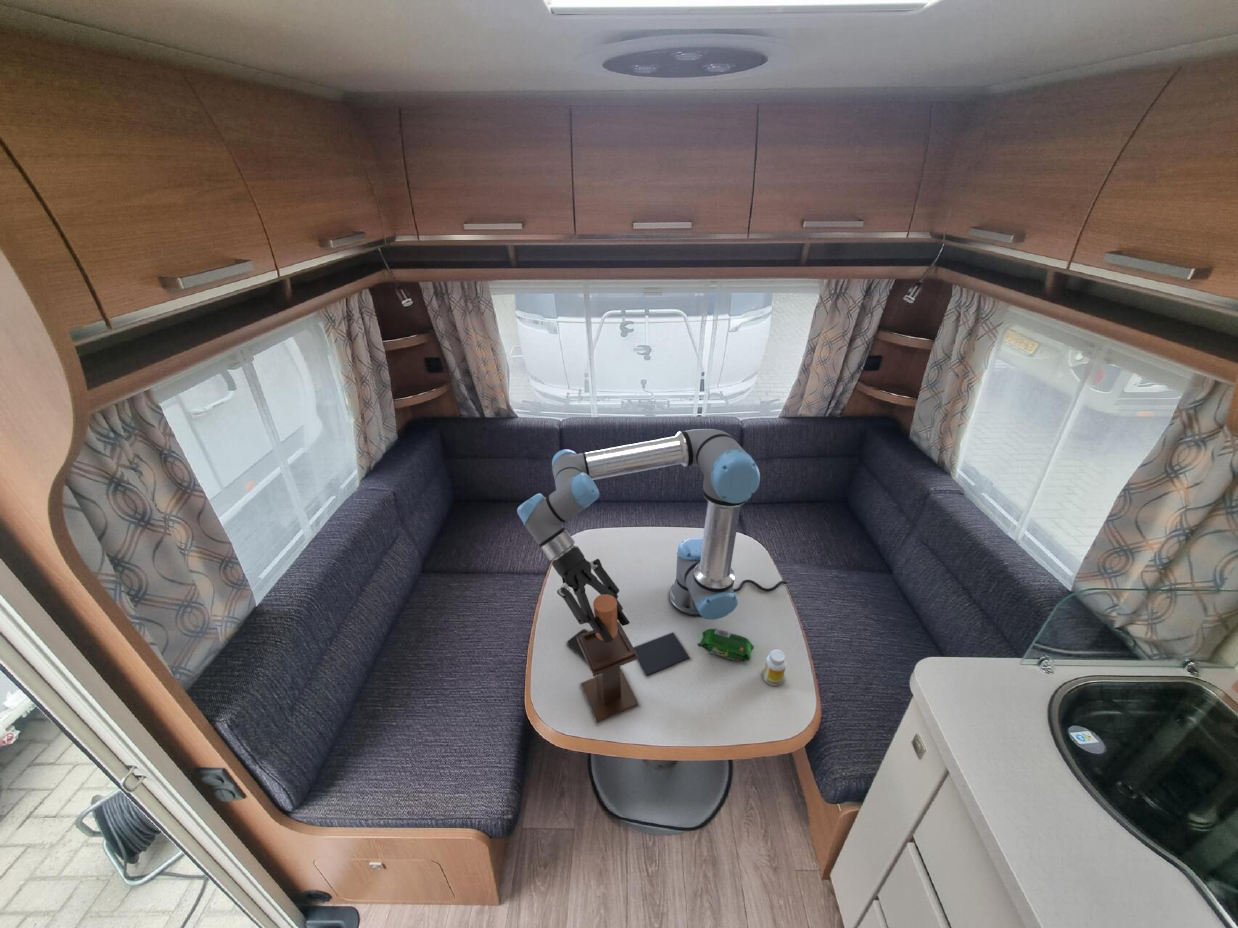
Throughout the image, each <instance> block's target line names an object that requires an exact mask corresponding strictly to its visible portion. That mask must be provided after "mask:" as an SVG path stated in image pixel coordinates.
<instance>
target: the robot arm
mask: <svg viewBox="0 0 1238 928" xmlns="http://www.w3.org/2000/svg"><path fill="white" fill-rule="evenodd" d="M676 465H677V466H678V465H681V466H682V467H684V468H687V467H692V466H693V467H694V466H695V467H698V468H699V470H701V472H702V474H703V483H702V496H703V497H704V499H705V500H706V509H705V517H704V518H705V519H704V524H703V525H704V526H703V534H702V537H690V538H686V539H684V540H682V541H681V543H679V545H678V546H677V547H678V548H677V552H676V572H675V573H676V575H675V580H674V582H673V584H672V585H671V587H670V590H669V601H670V603H671V605H672V607H673V608H674V609H675V610H676V611H678V612H679V613H681V614H684V615H687V616H692V617H697V616H698V617H699V616H701V617H702V618H705V619H707V620H718V619H722V618H724V617H726V616H728V615H730V614H731V613H733V612H734V611H735V610H736V608H737V607H738V604H739V600H738V596H737V592H740V591H742V589H743V587H744V586H745V584H746V583H747V584H748V583H750V584H753V585H754V586H755V587H757V588H758V589H760V590H761V591H764V592H773V591H775V590H777V588H779V587H780V586H781V585H782V584H784V585H788V582H787V581H786V580H780V581H779V582H777V583H776V584H775V585H773V586H772V587H769V588H767V587H764V586H761V584H759V583H757V582H756V581H754V580H752V579H743V580H742V582H741V583H740V585H739V586H738V587H737V588H734V584H735V577H736V575H735V571H734V570H733V568H732V562H733V554H734V549H735V542H736V536H737V530H738V524H739V518H740V511H741V507H742V506H743V505H745V504H746V503H747V502H748V500H749V499H750V498H751V497H752V494H755V493H756V491H757V490H758V488H759V485H760V481H761V473H760V469H759V467H758V465H757V464H756V461H755V460H754V459H753V457H752V455H750V454H749V453H747V452H746V450H745V449H743V447H742V446H741V445H740V444H739V443H738V442H737V441H736V439H735V438H734V437H733V436H732V435H731V434H729V433H728V432H726V431H724V430H720V429H715V428H695V429H688V430H687V429H686V430H683V431H682V430H681V431H678V432H677V433H676V434H675V436H670V437H664V438H658V439H654V440H649V441H642V442H638V443H632V444H631V443H630V444H625V445H620V446H614V447H609V448H604V449H600V450H593V451H589V452H582V453H578V454H577V452H576V451H574V450H571V449H561V450H559V451H557V452H556V453H555V454H554V456H553V458H552V459H551V472H552V475H553V479H554V485H555V490H554V491H553V492H551V493H550V494H549V495H547V496H544V495H543V494H542V493H536V494H535V495H533V496H532V497H530V498H529V499H527V500H525V501H524V502H523V503H521V504H520V505H519V506H518V507H517V509H516V513H517V515H518V516H519V519H520V520H521V522H522V524H523V526H524V527H525V528H526V529H527V531H528V532H529V533H530V535H531V536H532V538H533V540H534V541H535V542H536V543H537V545H538V547H539V548H540V549H541V551H542V552H543V554H544V555H545V557H546V558H547V560H548V561H552V562H551V566H552V567H553V569H554V570H555V572H556V573H557V574H558V575H559V576H560V578H561V580H562V585H561V586H560V588H558V589H557V590H556V593H557V595H558V596H560V597H561V598H562V599H563V600H564V602H565V603H566V605H567V607H568V609H569V610H570V611H571V613H572V614H573V617H574V618H575V620H576V621H577V623H578V624H579V625H584V624H588V625H589V626H590V628H591V630H594V632H595V633H599V634H600V635H601V637H602V638H603V640H604V641H605V643H608V642H612V641H613V640H614V639H613V638H612V636H611V635H610V633H609V632H608V630H607V629H606V628H605V626H604V625H603V623H602V622H601V620H600V619H599V617H594V611H593V609H592V607H591V604H590V601H589V598H588V596H587V593H586V585H588V586H590V587H591V588H593V589H594V590H595V591H596V592H597V593H598V594H599V595H603V594H608V595H611V596H613V597H614V598H615V599H616V601H617V620H618V622H619V623H620V624H621V626H622V627H624V626H628V625H629V624H630V623H631V621H630V620H629V619H628V617H627V616H626V614H625V613H624V612H623V610H624V608H623V606H622V604H621V603H620V601H619V600H618V599H619V595H618V594H619V593H620V589H619V588H618V586H617V584H616V583H615V582H614V580H612V578H611V576H610V575H609V574H608V572H607V571H606V570H605V568H604V567H603V565H602V562H601V560H600V559H599V558H596V559H594V560H591V561H588V560H587V559H586V557H585V555H584V553H583V552H582V550H581V549H580V548H579V546H578V545H575V543H576V542H575V540H574V538H573V537H572V536H571V535H570V533H569V531H568V530H567V528H566V527H565V526H564V523H566V522H567V521H568V520H570V519H571V518H573V517H574V516H576V515H577V514H579V513H581V512H582V511H584V510H585V509H587V508H589V507H590V506H591V504H593V503H595V501H597V500H599V498H600V491H599V488H598V487H597V484H596V483H595V480H601V479H606V478H612V477H617V476H622V475H623V476H624V475H628V474H632V473H633V474H634V473H640V472H644V471H650V470H656V469H660V468H665V467H666V468H667V467H672V466H676ZM592 571H593V572H594V574H593V573H592ZM570 588H571V589H572V591H573V593H572V592H571V589H570ZM573 594H574V595H575V596H576V598H575V597H574V595H573Z"/></svg>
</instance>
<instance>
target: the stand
mask: <svg viewBox="0 0 1238 928" xmlns="http://www.w3.org/2000/svg"><path fill="white" fill-rule="evenodd" d="M588 631H589V632H586V633H583V634H580V635H579V636H578V637H577V641H578V643H579V645H580V648H581V650H582V652H583V654H584V657H585V659H586V661H587V662H586V661H585V662H586V664H587V666H588V667H589V670H590V672H591V674H592V677H593V678H590V679H588V680H585V681H583V682H580V686H581V688H582V691H583V693H584V697H585V698H586V701H587V704H588V706H589V708H590V710H591V713H592V715H593V718H594V720H595V723H597V724H598V723H600V722H602V721H606V720H607V719H610V718H612V717H614V716H617V715H619V714H622V713H624V712H627V711H628V710H631V709H633V708H635V707H638V706H639V702H638V699H637V698H636V696H635V693H634V692H633V690H632V688H631V686H630V683H629V681H628V680H627V678H626V676H625V674H624V672H623V670H622V668H621V667H623V666H625V665H627V664H629V663H632V662H634V661H638V655H637V653H636V651H635V649H634V646H633V644H632V642H631V641H630V639H629V637H628V635H627V633H626V631H625V630H624V628H623V626H622V625H621V624H620V622H619V621H618V634H617V636H616V637H615V638H614V640H613V641H612V642H608V643H605V641H603V640H600V639H599V638H597V636H596V634H595V632H594V630H593V629H591V630H588Z"/></svg>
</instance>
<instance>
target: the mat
mask: <svg viewBox="0 0 1238 928" xmlns="http://www.w3.org/2000/svg"><path fill="white" fill-rule="evenodd" d="M633 648H634V649H635V651H636V653H637V655H638V659H637V661H638V663H639V665H640V666H641V668H642V670H643V672H644V674H645V676H646V677H648V676H651V675H653V674H656V673H658V672H661V671H662V670H663V671H664V670H665V669H668V668H670V667H673V666H675V665H678V664H680V663H683V662H686V661H687V660H690V656H689V654H688V653H687V651H686V650H685V649H684V647H683V645H682V644H681V643H680V641H679V639H678V638H677V636H676V635H675V633H674V632H670V633H668V634H665V635H663V636H660V637H658V638H655V639H652V640H649V641H647V642H645V643H642V644H639V645H636V646H633Z"/></svg>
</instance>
